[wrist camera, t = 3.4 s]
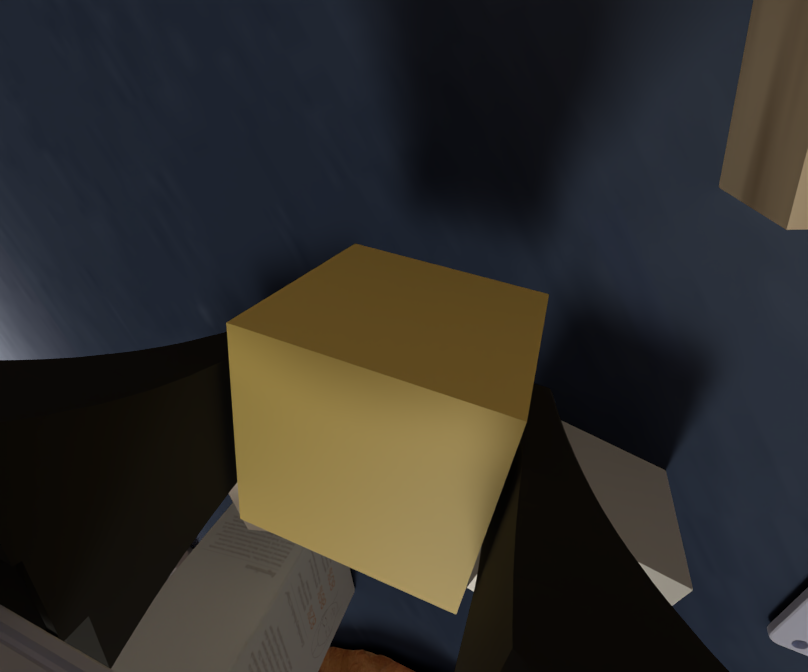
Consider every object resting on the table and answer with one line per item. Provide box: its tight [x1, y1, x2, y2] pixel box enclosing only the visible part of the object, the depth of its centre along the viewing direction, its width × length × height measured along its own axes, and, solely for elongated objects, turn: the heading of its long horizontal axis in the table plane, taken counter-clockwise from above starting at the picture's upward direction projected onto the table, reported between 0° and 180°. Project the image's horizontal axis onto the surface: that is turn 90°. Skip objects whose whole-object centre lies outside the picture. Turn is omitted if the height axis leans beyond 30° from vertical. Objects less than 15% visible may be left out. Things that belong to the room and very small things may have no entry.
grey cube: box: [467, 420, 693, 606], centre depth 16 cm, size 5×5×5 cm
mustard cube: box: [226, 244, 549, 614], centre depth 10 cm, size 5×5×5 cm
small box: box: [111, 502, 355, 672], centre depth 22 cm, size 8×6×10 cm
